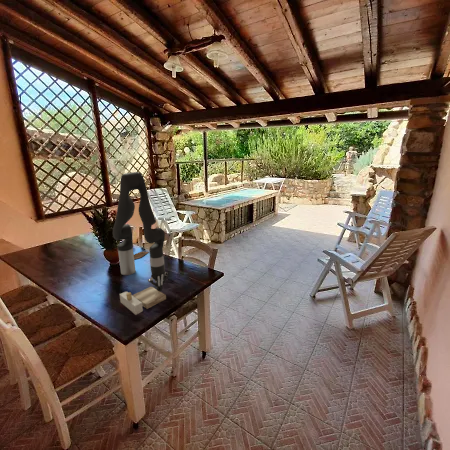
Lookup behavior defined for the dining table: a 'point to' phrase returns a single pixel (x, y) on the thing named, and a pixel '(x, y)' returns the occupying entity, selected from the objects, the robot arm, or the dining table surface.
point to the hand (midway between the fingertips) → (159, 290)
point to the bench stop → (131, 302)
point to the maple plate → (150, 297)
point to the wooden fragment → (139, 255)
